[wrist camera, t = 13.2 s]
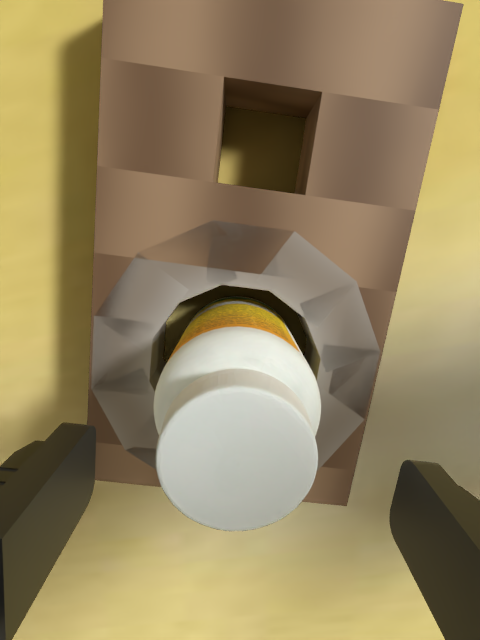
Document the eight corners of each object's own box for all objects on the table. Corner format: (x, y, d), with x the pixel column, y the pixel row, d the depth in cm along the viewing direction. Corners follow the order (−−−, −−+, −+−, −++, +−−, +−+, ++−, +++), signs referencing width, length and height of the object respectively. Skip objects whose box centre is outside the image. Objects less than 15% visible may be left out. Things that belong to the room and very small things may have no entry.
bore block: (419, 48, 15) (463, 3, 12) (330, 465, 20) (346, 506, 17) (131, 2, 15) (105, -56, 12) (108, 441, 19) (85, 479, 16)
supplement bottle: (309, 363, 18) (386, 497, 9) (219, 414, 19) (204, 589, 10) (255, 272, 17) (279, 317, 8) (161, 328, 18) (81, 433, 8)
